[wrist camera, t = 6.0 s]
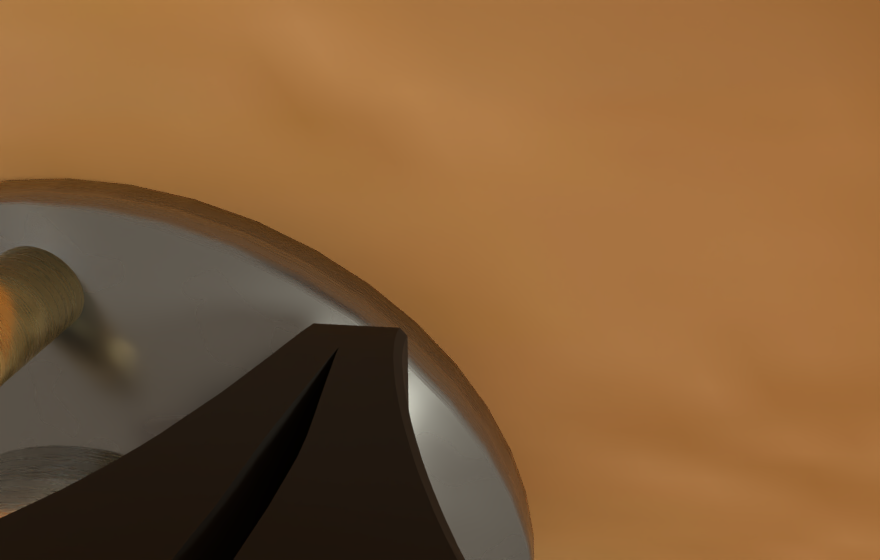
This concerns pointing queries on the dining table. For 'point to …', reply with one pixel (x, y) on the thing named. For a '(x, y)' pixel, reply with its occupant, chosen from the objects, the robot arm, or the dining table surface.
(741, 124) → the dining table surface
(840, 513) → the dining table surface
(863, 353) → the dining table surface
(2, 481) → the cover
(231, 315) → the disc
